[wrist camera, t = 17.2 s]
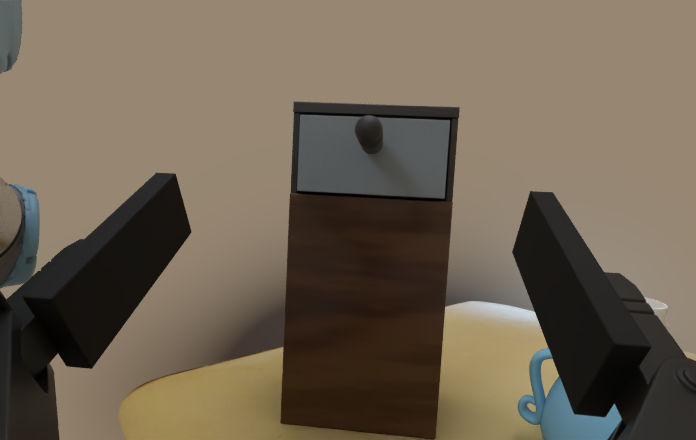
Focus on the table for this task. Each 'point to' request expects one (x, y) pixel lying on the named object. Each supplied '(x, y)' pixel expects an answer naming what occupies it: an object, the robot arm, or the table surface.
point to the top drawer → (373, 155)
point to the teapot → (561, 410)
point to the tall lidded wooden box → (366, 297)
